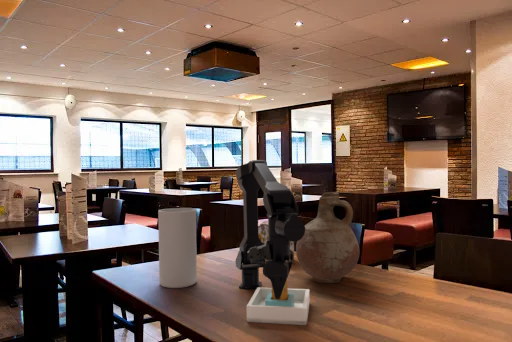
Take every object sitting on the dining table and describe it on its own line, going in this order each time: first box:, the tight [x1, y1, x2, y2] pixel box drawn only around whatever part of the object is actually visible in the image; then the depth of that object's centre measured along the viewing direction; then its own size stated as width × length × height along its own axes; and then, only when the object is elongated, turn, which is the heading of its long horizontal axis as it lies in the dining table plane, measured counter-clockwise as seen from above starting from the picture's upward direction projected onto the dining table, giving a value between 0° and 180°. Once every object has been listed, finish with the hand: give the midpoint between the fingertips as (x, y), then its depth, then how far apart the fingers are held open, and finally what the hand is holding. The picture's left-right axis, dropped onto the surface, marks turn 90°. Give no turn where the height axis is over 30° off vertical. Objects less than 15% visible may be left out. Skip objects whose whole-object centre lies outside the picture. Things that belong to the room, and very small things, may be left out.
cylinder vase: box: [157, 207, 198, 289], centre depth 136 cm, size 12×12×25 cm
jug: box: [295, 191, 361, 284], centre depth 137 cm, size 22×22×30 cm
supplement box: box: [270, 279, 289, 300], centre depth 107 cm, size 3×3×10 cm
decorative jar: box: [258, 220, 295, 262], centre depth 169 cm, size 12×12×18 cm
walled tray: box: [246, 286, 311, 326], centre depth 107 cm, size 16×15×4 cm
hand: (279, 293), depth 107 cm, fingers open, 9 cm apart
